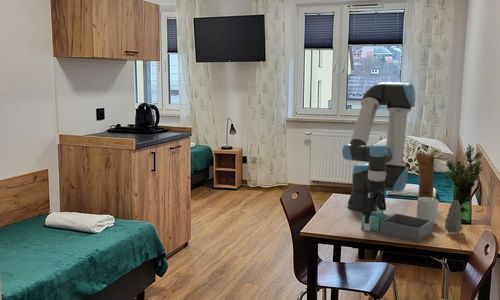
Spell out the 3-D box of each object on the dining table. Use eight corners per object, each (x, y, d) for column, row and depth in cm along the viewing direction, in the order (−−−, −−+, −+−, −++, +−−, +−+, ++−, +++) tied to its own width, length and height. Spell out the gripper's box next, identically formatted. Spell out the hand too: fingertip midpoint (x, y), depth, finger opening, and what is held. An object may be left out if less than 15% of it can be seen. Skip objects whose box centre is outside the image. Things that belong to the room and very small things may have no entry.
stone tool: (459, 231, 209) (462, 198, 207) (463, 233, 206) (466, 200, 204) (441, 231, 208) (444, 198, 206) (445, 234, 205) (448, 200, 202)
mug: (439, 225, 217) (441, 201, 215) (420, 225, 217) (421, 201, 215) (429, 218, 229) (431, 195, 227) (411, 217, 229) (412, 195, 227)
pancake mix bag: (423, 210, 244) (428, 156, 240) (411, 201, 263) (415, 150, 259) (436, 210, 244) (441, 156, 240) (423, 201, 263) (427, 151, 259)
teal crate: (361, 227, 211) (361, 214, 210) (368, 223, 217) (369, 211, 216) (378, 231, 206) (379, 218, 205) (385, 227, 212) (386, 214, 211)
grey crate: (379, 233, 203) (380, 221, 202) (394, 225, 216) (395, 213, 215) (418, 242, 193) (419, 229, 192) (432, 233, 206) (433, 220, 205)
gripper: (372, 185, 196) (369, 235, 199) (395, 177, 216) (392, 223, 218) (356, 182, 201) (353, 231, 204) (379, 174, 220) (376, 219, 223)
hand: (373, 227), depth 211 cm, fingers open, 12 cm apart
